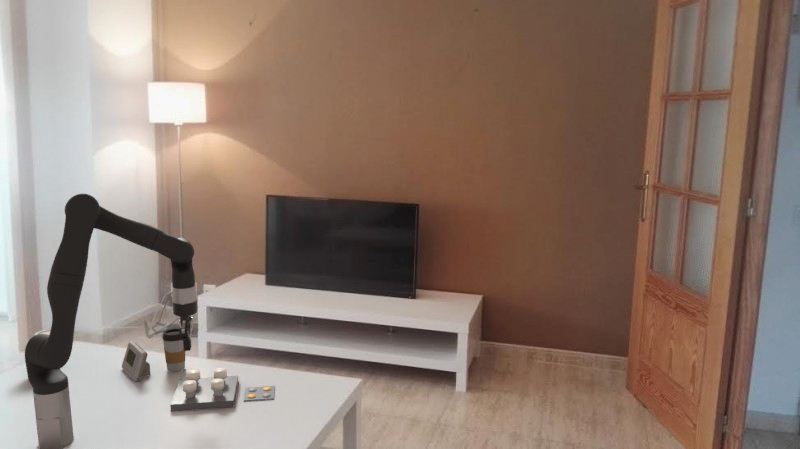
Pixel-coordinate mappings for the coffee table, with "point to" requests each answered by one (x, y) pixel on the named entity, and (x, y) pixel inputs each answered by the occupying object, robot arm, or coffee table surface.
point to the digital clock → (136, 362)
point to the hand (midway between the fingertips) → (187, 349)
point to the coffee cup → (174, 350)
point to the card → (259, 393)
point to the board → (205, 395)
